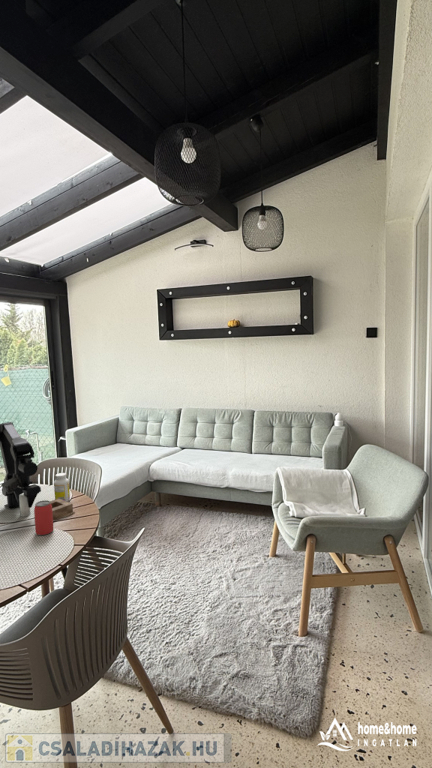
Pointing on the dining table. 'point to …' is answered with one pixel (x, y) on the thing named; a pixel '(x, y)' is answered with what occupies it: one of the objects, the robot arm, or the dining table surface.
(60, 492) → the supplement bottle
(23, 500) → the peg
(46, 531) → the beer can
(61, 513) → the socket
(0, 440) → the robot arm
